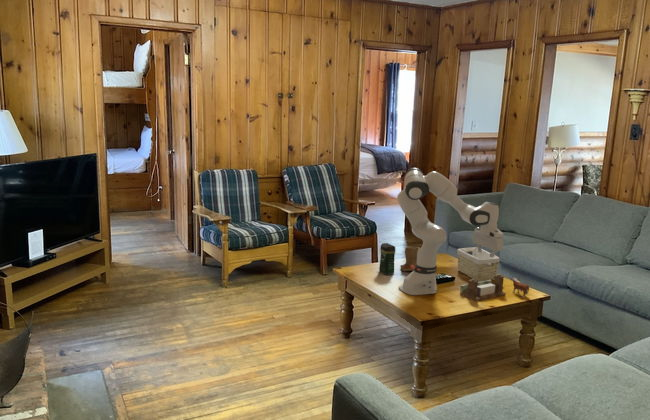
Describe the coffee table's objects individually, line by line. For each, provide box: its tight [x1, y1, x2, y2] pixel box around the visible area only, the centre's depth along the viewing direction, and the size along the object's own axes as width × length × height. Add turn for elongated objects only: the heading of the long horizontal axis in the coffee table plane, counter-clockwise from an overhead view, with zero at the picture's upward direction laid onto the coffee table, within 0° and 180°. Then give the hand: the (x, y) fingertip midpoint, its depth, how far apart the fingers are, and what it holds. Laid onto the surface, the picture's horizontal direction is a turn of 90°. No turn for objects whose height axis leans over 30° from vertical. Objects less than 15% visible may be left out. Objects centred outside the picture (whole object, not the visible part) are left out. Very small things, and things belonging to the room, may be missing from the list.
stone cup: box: [400, 246, 421, 272], centre depth 346 cm, size 15×12×15 cm
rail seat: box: [459, 273, 506, 302], centre depth 307 cm, size 23×12×11 cm, turn 119°
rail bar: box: [477, 282, 496, 296], centre depth 306 cm, size 12×4×4 cm, turn 119°
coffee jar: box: [378, 242, 396, 275], centre depth 338 cm, size 10×8×19 cm
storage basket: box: [456, 246, 501, 282], centre depth 340 cm, size 24×16×15 cm
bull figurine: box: [510, 277, 530, 298], centre depth 310 cm, size 4×13×8 cm, turn 21°
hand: (485, 254), depth 305 cm, fingers open, 8 cm apart
